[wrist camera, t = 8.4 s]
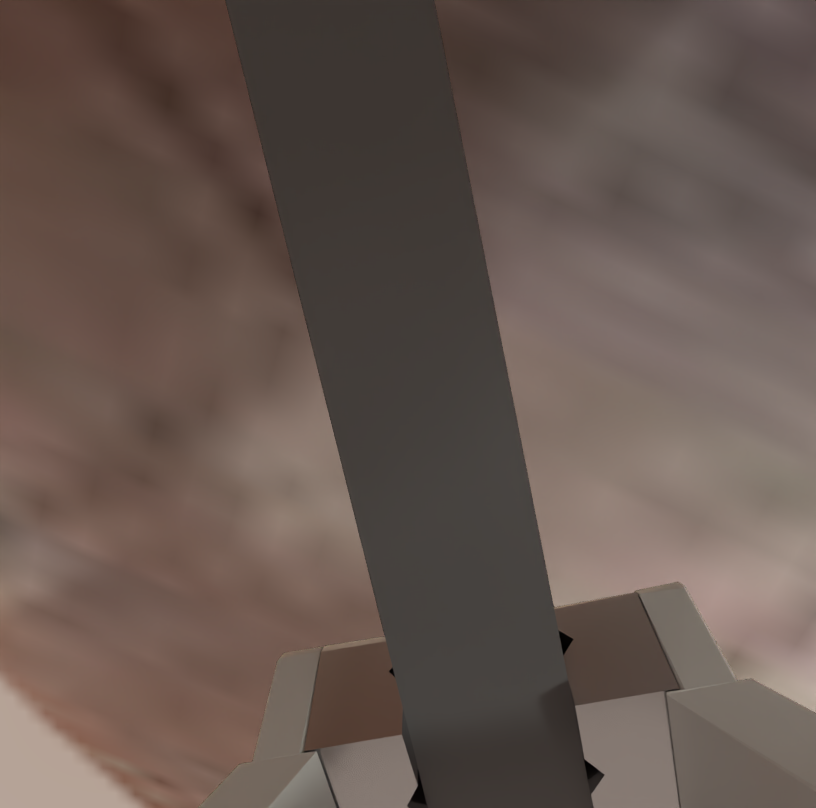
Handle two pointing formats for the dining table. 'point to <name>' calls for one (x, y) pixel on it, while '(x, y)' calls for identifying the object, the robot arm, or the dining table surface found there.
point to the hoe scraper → (416, 388)
